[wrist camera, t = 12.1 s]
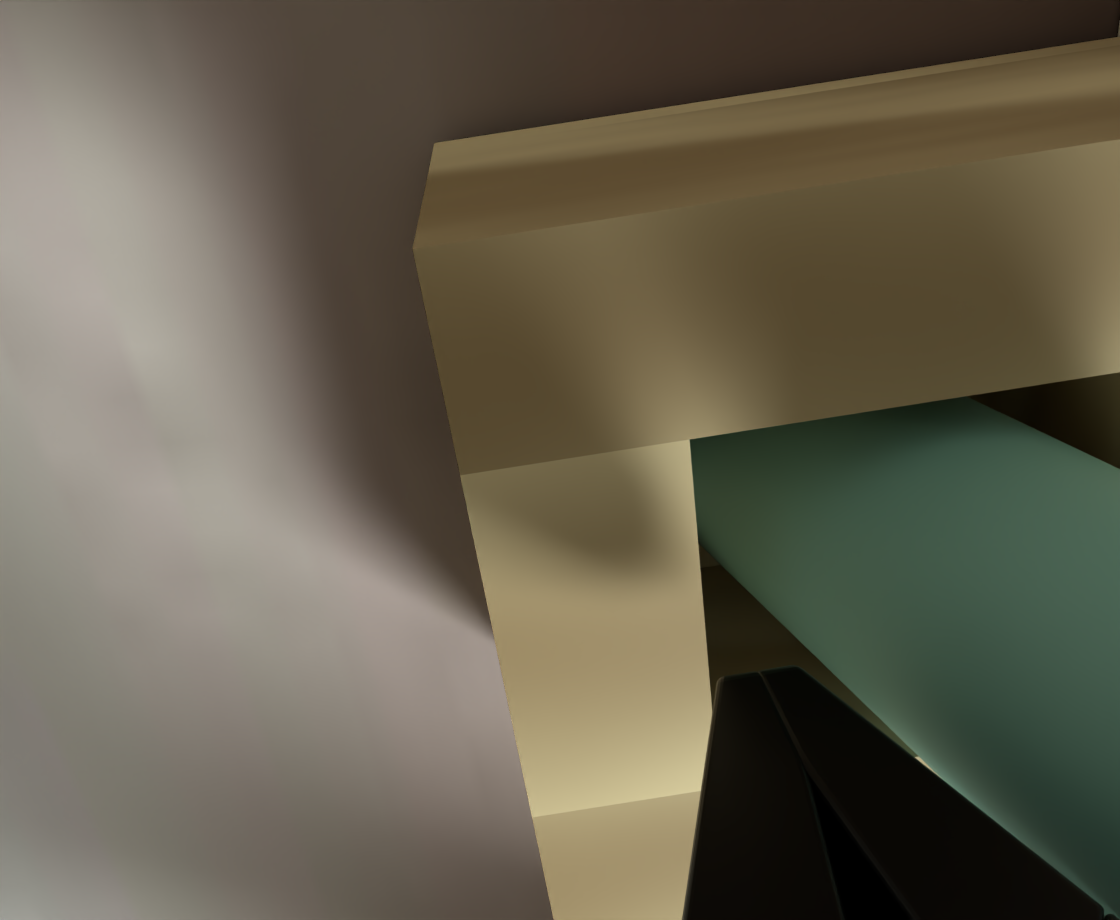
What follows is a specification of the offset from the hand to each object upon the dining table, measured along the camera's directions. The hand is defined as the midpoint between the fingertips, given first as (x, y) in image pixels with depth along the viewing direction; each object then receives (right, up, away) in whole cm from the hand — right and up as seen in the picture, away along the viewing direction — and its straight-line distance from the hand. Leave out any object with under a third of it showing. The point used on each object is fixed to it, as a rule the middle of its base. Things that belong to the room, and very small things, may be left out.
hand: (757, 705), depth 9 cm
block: (+2, +3, +6) cm, 7 cm away
